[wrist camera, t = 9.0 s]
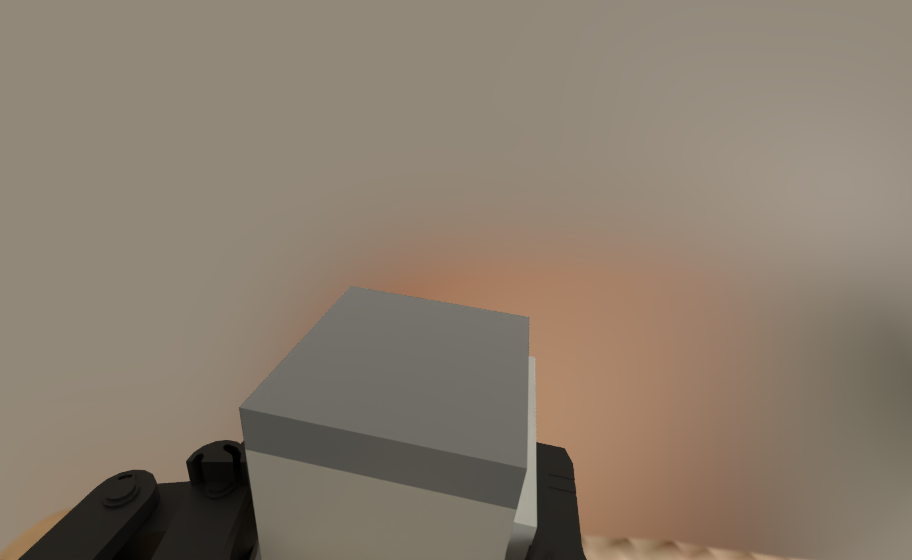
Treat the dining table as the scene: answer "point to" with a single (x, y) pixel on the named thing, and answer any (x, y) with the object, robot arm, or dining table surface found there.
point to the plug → (392, 433)
